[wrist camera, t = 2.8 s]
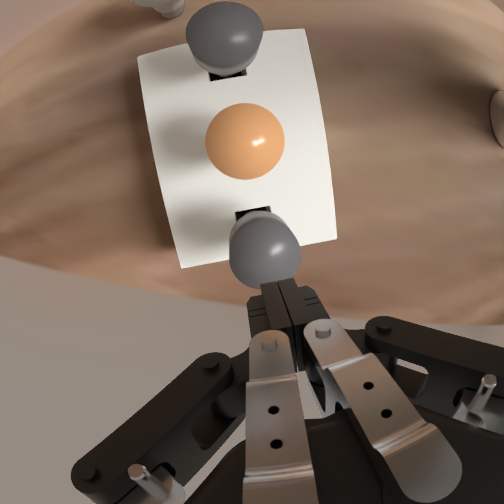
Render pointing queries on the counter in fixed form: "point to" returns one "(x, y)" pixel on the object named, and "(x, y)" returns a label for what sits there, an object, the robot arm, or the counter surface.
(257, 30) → the charcoal knob
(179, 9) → the lightbulb
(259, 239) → the charcoal knob
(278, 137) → the middle terracotta knob
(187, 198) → the mounting board
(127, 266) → the counter surface
